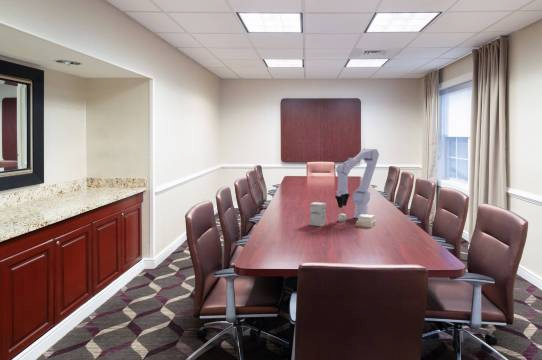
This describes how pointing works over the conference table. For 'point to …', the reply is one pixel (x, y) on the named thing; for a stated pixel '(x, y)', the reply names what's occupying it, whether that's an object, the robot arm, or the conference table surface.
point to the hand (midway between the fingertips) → (342, 206)
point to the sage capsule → (342, 217)
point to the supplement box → (317, 214)
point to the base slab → (366, 224)
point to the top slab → (366, 218)
